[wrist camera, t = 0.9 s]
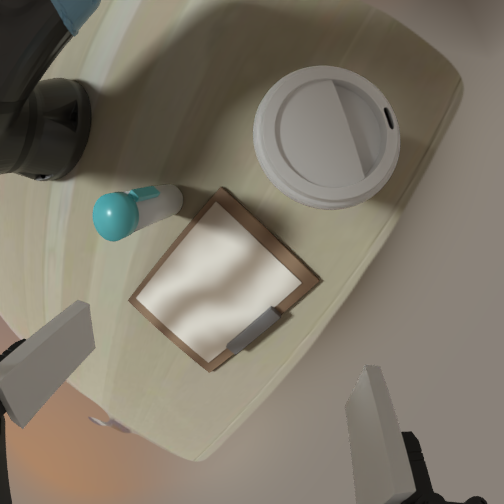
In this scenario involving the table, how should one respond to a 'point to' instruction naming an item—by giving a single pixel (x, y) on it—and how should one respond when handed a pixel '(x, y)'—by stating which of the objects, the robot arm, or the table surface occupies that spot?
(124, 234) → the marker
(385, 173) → the coffee cup
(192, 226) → the clipboard
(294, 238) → the table surface
